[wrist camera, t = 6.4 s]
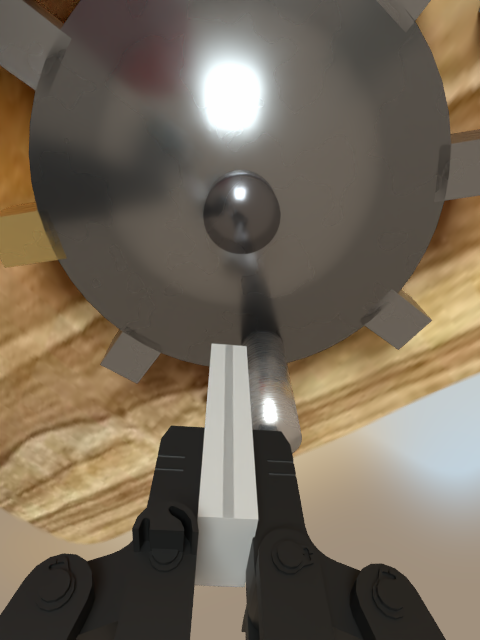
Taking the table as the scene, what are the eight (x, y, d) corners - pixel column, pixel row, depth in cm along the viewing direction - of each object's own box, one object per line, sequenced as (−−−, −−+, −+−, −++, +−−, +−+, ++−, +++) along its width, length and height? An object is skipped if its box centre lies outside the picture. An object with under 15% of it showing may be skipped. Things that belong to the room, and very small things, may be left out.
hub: (166, 251, 17) (146, 296, 13) (166, 96, 14) (141, 94, 10) (298, 262, 17) (317, 309, 13) (326, 113, 14) (361, 118, 10)
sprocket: (95, 396, 20) (34, 526, 14) (-117, -78, 11) (-556, -300, 5) (448, 351, 19) (551, 471, 13) (534, -221, 10) (1026, -745, 4)
